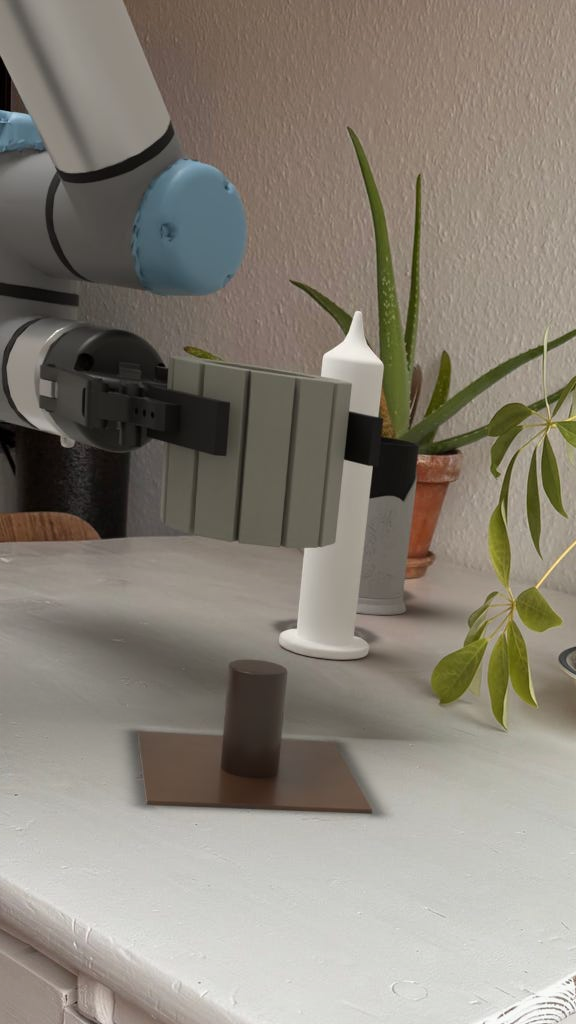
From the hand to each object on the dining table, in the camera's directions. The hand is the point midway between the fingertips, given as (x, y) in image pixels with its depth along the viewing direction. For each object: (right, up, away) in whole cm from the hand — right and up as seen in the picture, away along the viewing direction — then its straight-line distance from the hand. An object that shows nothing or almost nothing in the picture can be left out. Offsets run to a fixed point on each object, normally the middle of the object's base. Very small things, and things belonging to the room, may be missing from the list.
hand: (303, 435), depth 71 cm
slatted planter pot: (-4, -4, +5) cm, 7 cm away
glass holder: (-4, 0, +49) cm, 50 cm away
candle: (-3, -7, +31) cm, 32 cm away
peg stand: (-3, -20, -3) cm, 20 cm away
